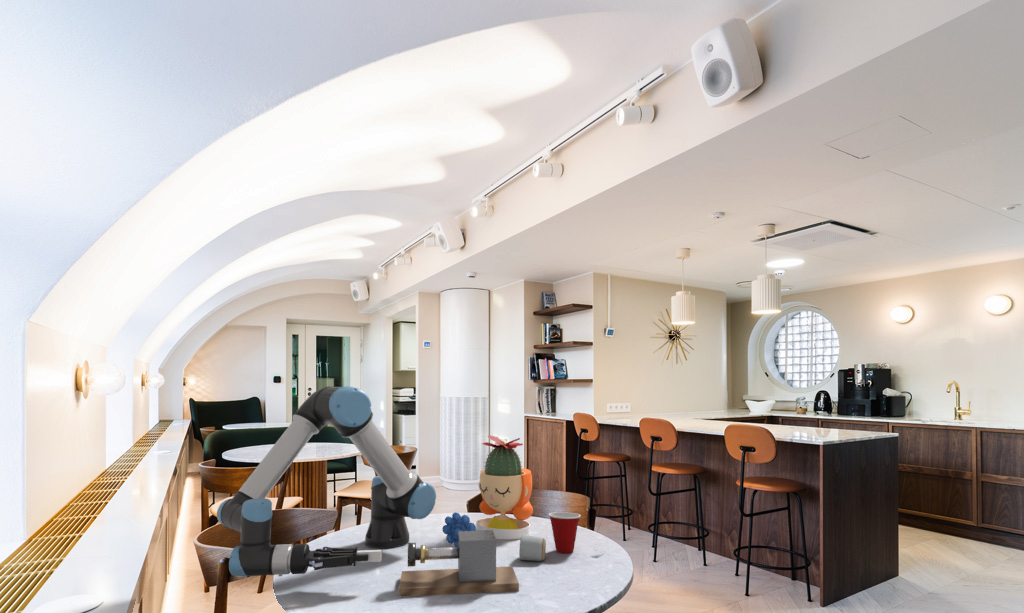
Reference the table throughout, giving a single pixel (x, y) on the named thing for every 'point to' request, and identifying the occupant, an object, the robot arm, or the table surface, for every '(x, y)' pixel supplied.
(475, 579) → the bearing block
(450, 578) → the base plate
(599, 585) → the table surface
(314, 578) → the table surface
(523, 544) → the ceramic mug
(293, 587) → the table surface
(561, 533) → the plastic cup
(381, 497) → the robot arm
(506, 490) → the potted cactus
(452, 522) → the grapes
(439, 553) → the shaft
